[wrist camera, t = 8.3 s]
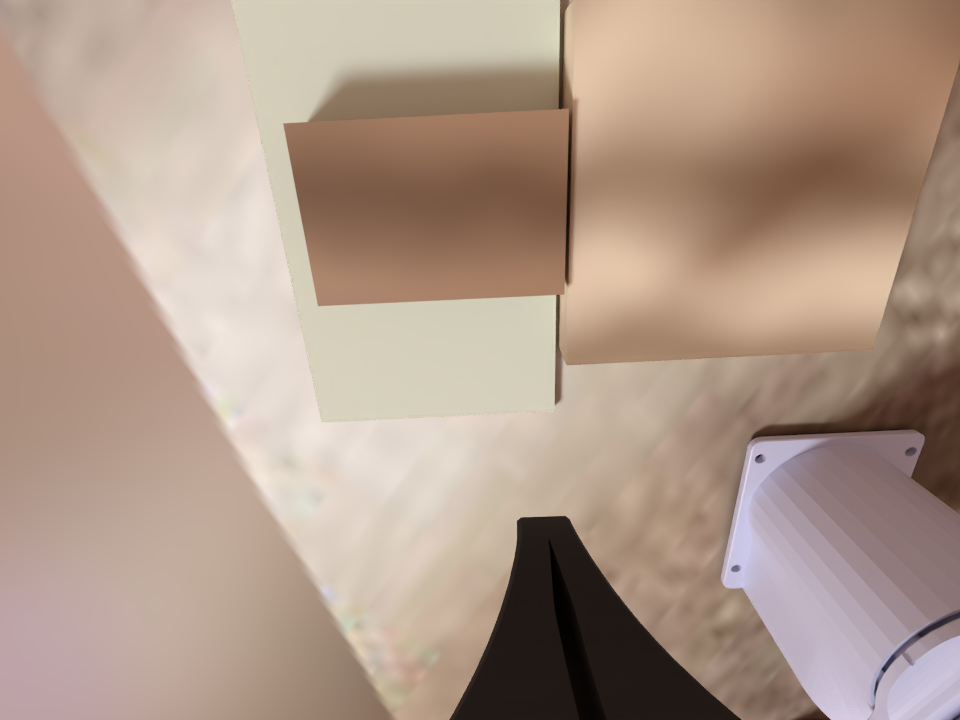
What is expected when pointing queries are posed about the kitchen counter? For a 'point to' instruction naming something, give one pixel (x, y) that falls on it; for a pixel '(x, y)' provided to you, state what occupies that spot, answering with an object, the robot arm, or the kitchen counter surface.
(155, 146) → the kitchen counter surface
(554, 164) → the walnut tile
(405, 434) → the kitchen counter surface
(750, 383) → the kitchen counter surface
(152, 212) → the kitchen counter surface
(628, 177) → the block
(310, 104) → the sage mat
